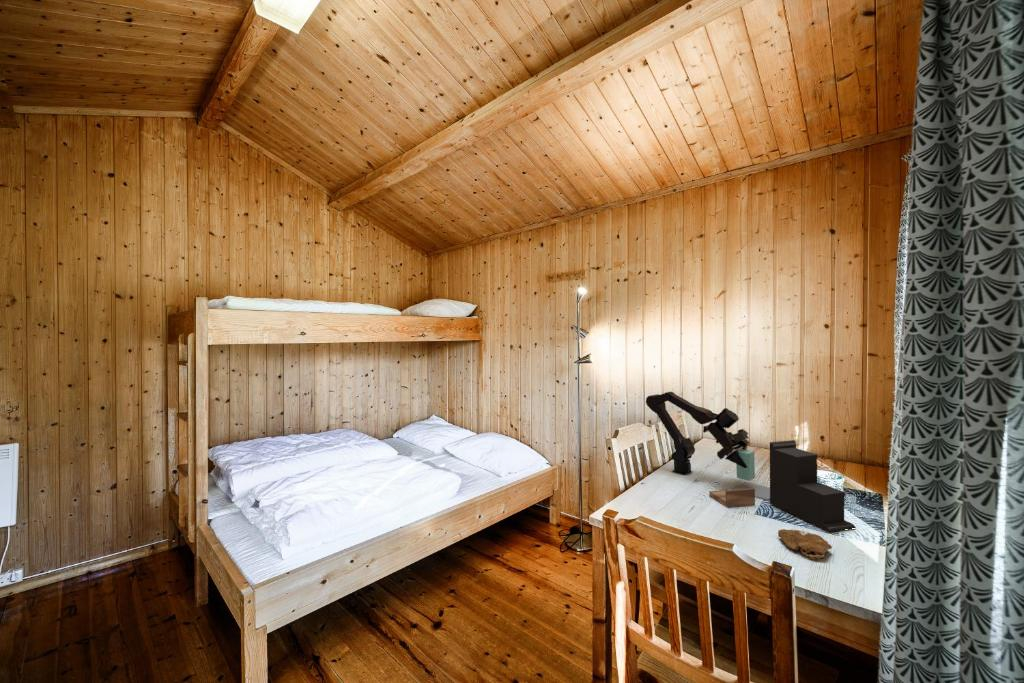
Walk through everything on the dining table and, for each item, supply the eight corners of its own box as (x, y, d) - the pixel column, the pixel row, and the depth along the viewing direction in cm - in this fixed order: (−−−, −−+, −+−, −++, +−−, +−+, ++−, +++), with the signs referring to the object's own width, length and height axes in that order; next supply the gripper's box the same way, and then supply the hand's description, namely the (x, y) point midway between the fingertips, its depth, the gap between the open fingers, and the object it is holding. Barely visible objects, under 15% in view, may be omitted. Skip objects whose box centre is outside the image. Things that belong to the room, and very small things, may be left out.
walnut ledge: (709, 496, 162) (709, 481, 162) (734, 494, 163) (734, 479, 163) (728, 507, 151) (727, 491, 151) (755, 505, 153) (754, 489, 153)
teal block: (736, 477, 169) (736, 451, 169) (742, 475, 173) (741, 448, 173) (749, 480, 166) (749, 453, 165) (754, 478, 169) (754, 451, 169)
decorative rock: (846, 564, 114) (809, 540, 129) (846, 549, 114) (809, 526, 129) (803, 562, 114) (771, 538, 129) (803, 547, 114) (771, 524, 129)
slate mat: (729, 490, 167) (729, 489, 167) (744, 482, 176) (744, 481, 176) (768, 500, 156) (767, 499, 156) (781, 491, 165) (781, 490, 165)
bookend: (856, 529, 132) (855, 456, 132) (829, 533, 130) (827, 459, 130) (793, 501, 155) (792, 439, 155) (769, 504, 153) (767, 441, 153)
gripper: (724, 426, 166) (754, 459, 158) (744, 420, 178) (773, 450, 169) (705, 442, 172) (733, 475, 164) (725, 435, 184) (753, 465, 175)
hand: (749, 466), depth 168 cm, fingers closed on teal block, 5 cm apart
